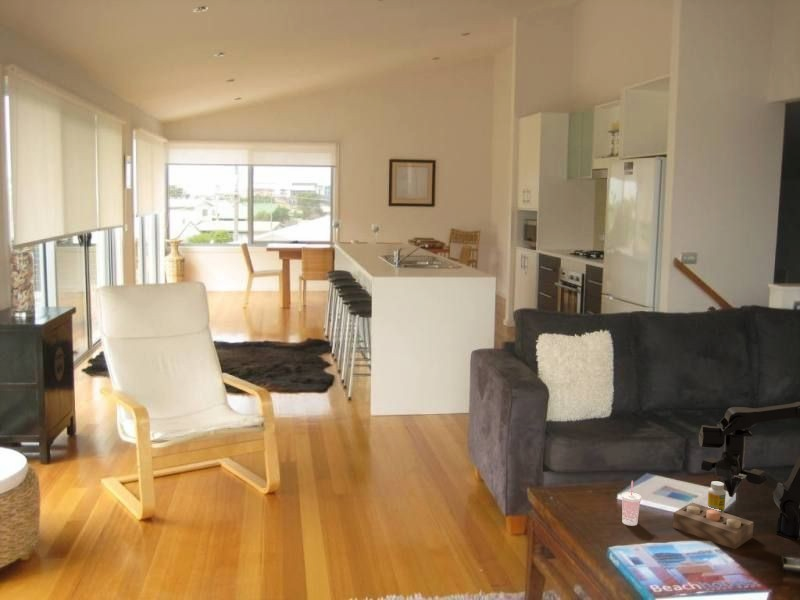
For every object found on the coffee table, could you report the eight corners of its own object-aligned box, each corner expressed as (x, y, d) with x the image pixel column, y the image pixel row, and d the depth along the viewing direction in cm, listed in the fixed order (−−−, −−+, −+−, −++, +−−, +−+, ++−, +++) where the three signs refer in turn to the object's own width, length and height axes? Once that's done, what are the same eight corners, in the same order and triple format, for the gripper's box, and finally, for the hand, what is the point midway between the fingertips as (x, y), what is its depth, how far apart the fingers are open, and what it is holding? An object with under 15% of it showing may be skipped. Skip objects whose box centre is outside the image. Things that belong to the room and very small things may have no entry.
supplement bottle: (711, 506, 271) (713, 478, 270) (727, 511, 267) (729, 483, 266) (704, 510, 267) (706, 483, 266) (719, 515, 264) (722, 487, 262)
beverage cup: (640, 527, 254) (643, 485, 251) (620, 525, 255) (623, 483, 253) (638, 519, 260) (641, 478, 257) (619, 517, 261) (621, 476, 259)
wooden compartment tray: (752, 537, 248) (753, 522, 247) (734, 549, 240) (736, 533, 239) (691, 516, 262) (692, 502, 261) (672, 527, 254) (673, 512, 253)
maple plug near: (741, 537, 246) (743, 521, 245) (736, 541, 243) (737, 525, 242) (729, 532, 249) (730, 517, 248) (723, 536, 246) (724, 521, 245)
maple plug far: (701, 523, 255) (702, 508, 255) (695, 527, 253) (696, 512, 252) (689, 519, 258) (690, 504, 257) (683, 522, 255) (684, 508, 255)
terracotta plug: (721, 527, 250) (722, 512, 250) (715, 531, 248) (716, 516, 247) (709, 523, 253) (710, 508, 253) (703, 527, 251) (704, 512, 250)
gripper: (693, 447, 250) (690, 495, 252) (753, 462, 237) (750, 512, 239) (709, 439, 258) (707, 485, 260) (769, 453, 244) (765, 502, 247)
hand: (731, 496), depth 251 cm, fingers closed
